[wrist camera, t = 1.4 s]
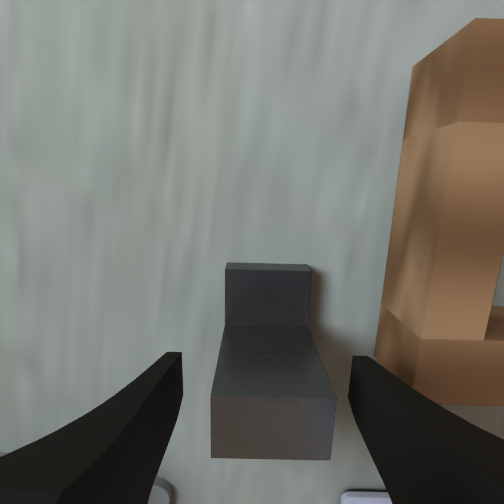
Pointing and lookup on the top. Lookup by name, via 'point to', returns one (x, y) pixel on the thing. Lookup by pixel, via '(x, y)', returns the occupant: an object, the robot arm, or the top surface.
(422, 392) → the well block
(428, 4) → the top surface
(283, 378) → the grey l-shaped block
